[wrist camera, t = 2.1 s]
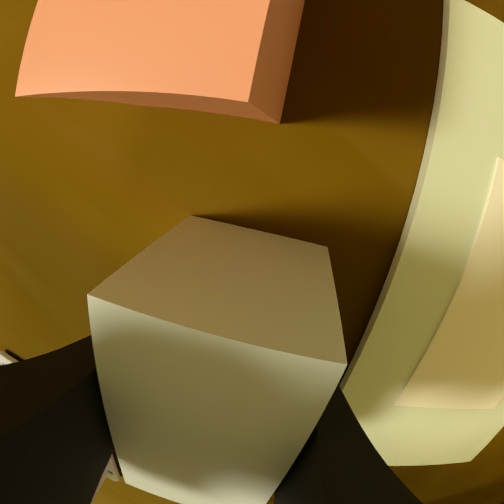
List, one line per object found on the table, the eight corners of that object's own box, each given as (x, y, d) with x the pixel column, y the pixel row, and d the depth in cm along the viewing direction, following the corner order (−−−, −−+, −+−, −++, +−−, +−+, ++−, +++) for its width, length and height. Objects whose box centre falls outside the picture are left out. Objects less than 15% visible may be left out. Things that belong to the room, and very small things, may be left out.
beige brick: (272, 410, 11) (253, 520, 7) (175, 384, 12) (125, 483, 7) (327, 246, 9) (347, 364, 4) (190, 215, 9) (87, 293, 4)
